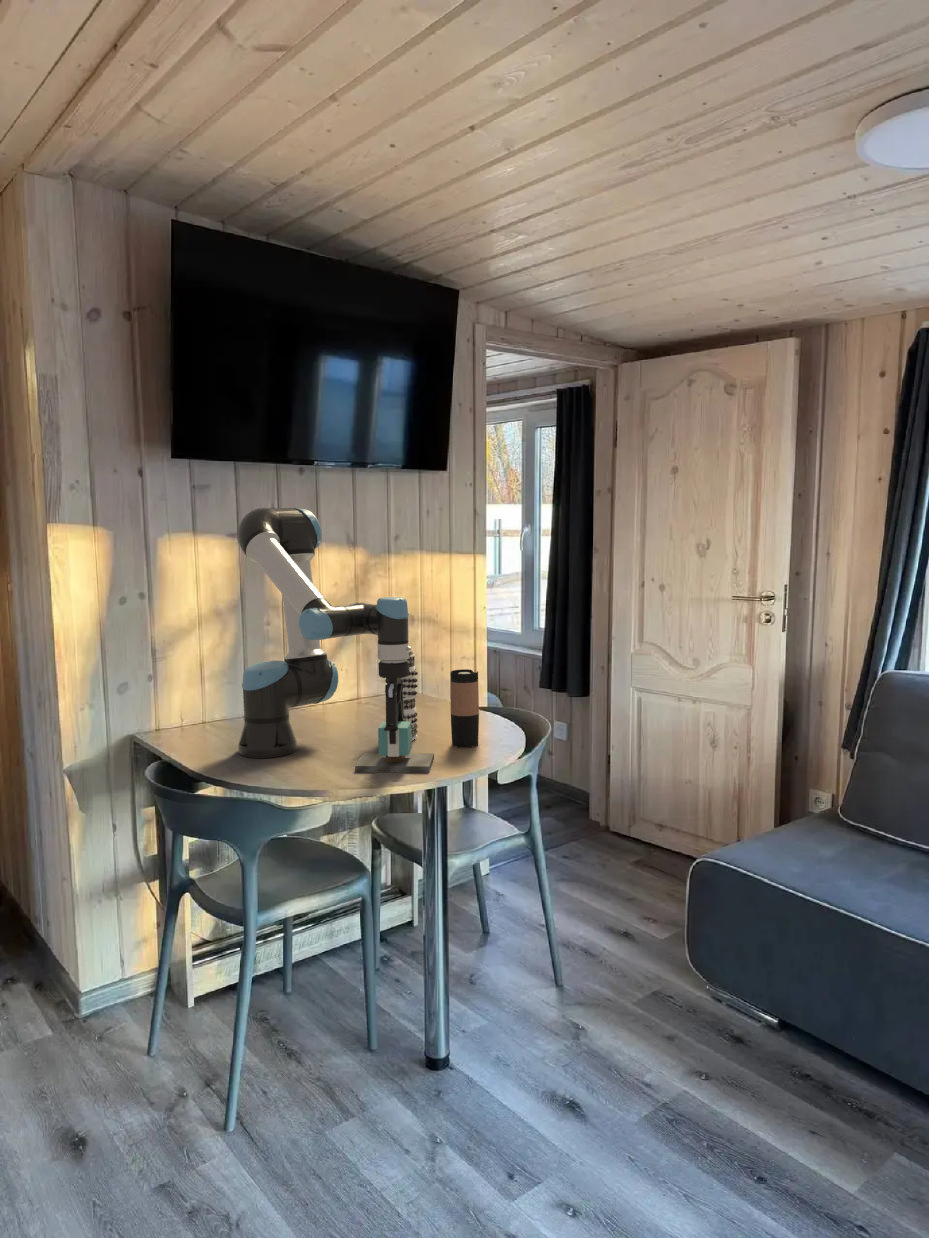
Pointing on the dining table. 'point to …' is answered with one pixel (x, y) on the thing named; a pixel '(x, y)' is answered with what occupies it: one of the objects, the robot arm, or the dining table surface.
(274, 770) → the dining table surface
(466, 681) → the travel mug
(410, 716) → the decorative candle
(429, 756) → the grey base with post
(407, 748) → the mint green cube
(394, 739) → the robot arm
